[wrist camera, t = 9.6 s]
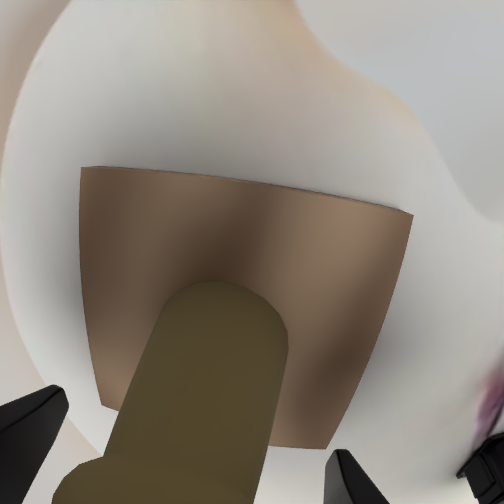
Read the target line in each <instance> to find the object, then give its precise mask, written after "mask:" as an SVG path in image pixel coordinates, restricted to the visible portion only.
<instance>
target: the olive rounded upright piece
mask: <svg viewBox="0 0 504 504" xmlns="http://www.w3.org/2000/svg"><path fill="white" fill-rule="evenodd" d="M288 351H289V346H288V331H287V329H286V327H285V325H284V323H283V320H282V318H281V316H280V314H279V313H278V312H277V311H276V310H275V309H274V308H273V307H272V306H271V304H270V303H269V302H268V301H267V300H266V299H265V298H263V297H261V296H260V295H258V294H256V293H254V292H253V291H251V290H249V289H247V288H246V287H243V286H239V285H235V284H230V283H226V282H222V281H218V282H200V283H196V284H194V285H191V286H188V287H186V288H183V289H181V290H179V291H178V292H177V293H175V294H174V295H173V296H172V297H171V298H170V299H169V300H168V301H166V302H165V304H164V306H163V308H162V310H161V312H160V314H159V316H158V319H157V321H156V323H155V325H154V328H153V330H152V332H151V335H150V337H149V339H148V342H147V344H146V346H145V349H144V351H143V353H142V356H141V358H140V361H139V363H138V365H137V368H136V370H135V373H134V375H133V378H132V380H131V383H130V385H129V388H128V390H127V393H126V395H125V398H124V400H123V403H122V406H121V408H120V411H119V414H118V416H117V419H116V422H115V424H114V427H113V430H112V432H111V435H110V438H109V441H108V444H107V446H106V449H105V452H104V455H103V457H100V458H97V459H94V460H90V461H88V462H85V463H82V464H79V465H78V466H77V467H76V468H75V469H73V470H72V471H71V472H70V473H69V474H68V475H66V476H65V477H64V478H63V480H62V481H61V483H60V485H59V486H58V488H57V489H56V491H55V493H54V495H53V498H52V504H253V502H254V499H255V495H256V491H257V488H258V484H259V480H260V476H261V472H262V468H263V464H264V461H265V456H266V452H267V448H268V444H269V440H270V436H271V432H272V427H273V423H274V418H275V414H276V409H277V405H278V400H279V396H280V391H281V386H282V381H283V376H284V371H285V366H286V361H287V356H288Z"/></svg>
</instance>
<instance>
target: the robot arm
mask: <svg viewBox="0 0 504 504" xmlns="http://www.w3.org/2000/svg"><path fill="white" fill-rule="evenodd" d="M68 409H69V403H68V400H67V397H66V394H65V391H64V389H63V388H61V387H59V386H57V385H54V384H53V385H50V386H48V387H45V388H43V389H41V390H39V391H36V392H33V393H31V394H29V395H26V396H24V397H21V398H19V399H16V400H14V401H11V402H9V403H6V404H4V405H2V406H0V504H22V502H23V500H24V498H25V496H26V494H27V492H28V490H29V488H30V486H31V484H32V482H33V480H34V478H35V477H36V475H37V473H38V471H39V469H40V467H41V465H42V463H43V462H44V460H45V458H46V456H47V454H48V452H49V450H50V449H51V447H52V445H53V443H54V441H55V439H56V437H57V435H58V432H59V430H60V428H61V425H62V423H63V420H64V418H65V416H66V414H67V411H68ZM456 477H457V479H459V478H463V477H466V478H467V480H468V482H469V485H470V487H471V490H472V492H473V495H474V497H475V498H477V499H478V502H479V504H504V433H503V434H500V435H496V436H493V437H491V438H489V439H488V440H487V441H486V443H485V444H484V445H483V446H482V447H481V449H480V450H479V451H478V452H477V453H476V454H475V456H474V457H473V458H472V459H471V460H470V461H469V462H468V463H467V464H466V465H465V467H464V468H463V469H462V470H461V471H460V472H459V473H458V474H457V475H456ZM323 504H390V503H389V502H388V501H387V500H386V498H385V497H384V496H383V495H382V493H381V492H380V491H379V489H378V488H377V487H376V486H375V484H374V483H373V482H372V481H371V479H370V478H369V477H368V475H367V474H366V473H365V471H364V470H363V469H362V468H361V466H360V465H359V464H358V462H357V461H356V460H355V458H354V457H353V456H352V454H351V453H350V452H349V451H348V450H347V449H336V450H334V451H333V453H332V455H331V456H330V458H329V460H328V461H327V463H326V467H325V486H324V503H323Z"/></svg>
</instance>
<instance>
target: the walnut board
mask: <svg viewBox="0 0 504 504" xmlns="http://www.w3.org/2000/svg"><path fill="white" fill-rule="evenodd" d="M413 216H414V215H411V214H409V213H407V212H404V211H402V210H399V209H395V208H390V207H386V206H382V205H377V204H373V203H368V202H364V201H359V200H354V199H349V198H344V197H339V196H334V195H329V194H324V193H318V192H313V191H307V190H302V189H296V188H290V187H284V186H278V185H272V184H265V183H259V182H252V181H245V180H238V179H231V178H223V177H215V176H207V175H198V174H189V173H180V172H170V171H160V170H148V169H136V168H122V167H106V166H94V167H81V179H80V201H79V247H80V269H81V283H82V294H83V304H84V313H85V321H86V328H87V335H88V342H89V348H90V353H91V359H92V364H93V369H94V374H95V379H96V383H97V388H98V392H99V396H100V400H101V404H102V405H103V406H105V407H108V408H111V409H114V410H116V411H120V408H121V406H122V403H123V400H124V398H125V395H126V393H127V390H128V388H129V385H130V383H131V380H132V378H133V375H134V373H135V370H136V368H137V365H138V363H139V361H140V358H141V356H142V353H143V351H144V349H145V346H146V344H147V342H148V339H149V337H150V335H151V332H152V330H153V328H154V325H155V323H156V321H157V319H158V316H159V314H160V312H161V310H162V308H163V306H164V304H165V302H166V301H168V300H169V299H170V298H171V297H172V296H173V295H174V294H175V293H177V292H178V291H179V290H181V289H183V288H186V287H188V286H191V285H194V284H196V283H200V282H218V281H222V282H226V283H230V284H235V285H239V286H243V287H246V288H247V289H249V290H251V291H253V292H254V293H256V294H258V295H260V296H261V297H263V298H265V299H266V300H267V301H268V302H269V303H270V304H271V306H272V307H273V308H274V309H275V310H276V311H277V312H278V313H279V314H280V316H281V318H282V320H283V323H284V325H285V327H286V329H287V331H288V346H289V351H288V356H287V361H286V366H285V371H284V376H283V381H282V386H281V391H280V396H279V400H278V405H277V409H276V414H275V418H274V423H273V427H272V432H271V436H270V440H269V444H268V445H269V446H278V447H290V448H304V449H326V448H327V446H328V444H329V443H330V441H331V439H332V437H333V435H334V433H335V431H336V430H337V428H338V426H339V424H340V422H341V420H342V418H343V416H344V414H345V412H346V410H347V408H348V406H349V404H350V402H351V399H352V397H353V395H354V393H355V391H356V389H357V386H358V384H359V382H360V380H361V377H362V375H363V373H364V370H365V368H366V366H367V363H368V361H369V358H370V356H371V353H372V351H373V348H374V346H375V343H376V341H377V338H378V335H379V333H380V330H381V327H382V324H383V322H384V319H385V316H386V313H387V310H388V307H389V304H390V301H391V298H392V295H393V292H394V288H395V285H396V282H397V279H398V275H399V272H400V268H401V265H402V261H403V257H404V254H405V250H406V246H407V242H408V238H409V234H410V229H411V225H412V221H413Z"/></svg>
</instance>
